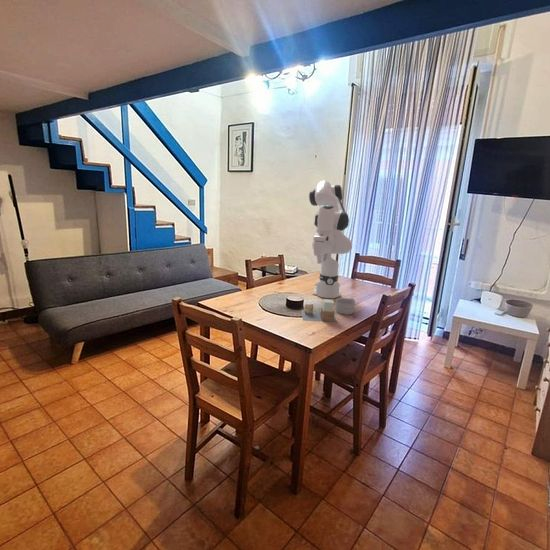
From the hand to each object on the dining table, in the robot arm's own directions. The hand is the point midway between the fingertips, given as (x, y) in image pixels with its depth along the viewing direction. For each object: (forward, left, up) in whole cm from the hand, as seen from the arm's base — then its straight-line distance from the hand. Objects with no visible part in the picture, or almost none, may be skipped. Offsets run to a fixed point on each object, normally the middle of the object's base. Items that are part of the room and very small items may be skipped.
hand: (322, 262), depth 176 cm
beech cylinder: (+2, -5, -29) cm, 29 cm away
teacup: (-4, +17, -30) cm, 34 cm away
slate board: (+6, 0, -30) cm, 30 cm away
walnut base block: (+9, +4, -29) cm, 30 cm away
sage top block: (+9, +4, -24) cm, 26 cm away
